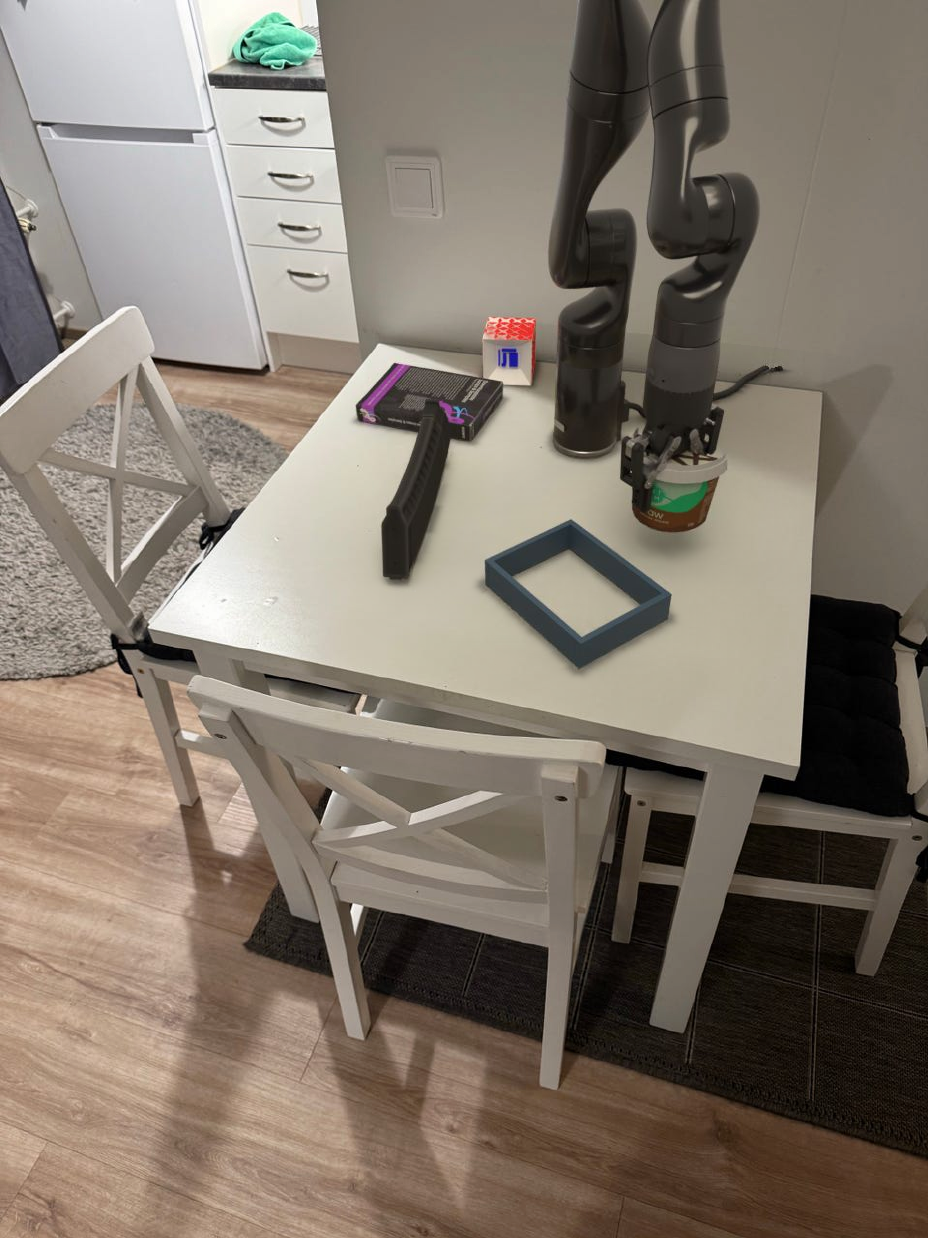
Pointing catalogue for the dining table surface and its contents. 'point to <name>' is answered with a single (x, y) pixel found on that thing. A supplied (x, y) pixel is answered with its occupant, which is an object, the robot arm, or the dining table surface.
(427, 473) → the magazine
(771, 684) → the dining table surface
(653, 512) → the food container
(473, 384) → the box
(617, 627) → the blue rectangular frame
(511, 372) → the white and red cube
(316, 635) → the dining table surface
